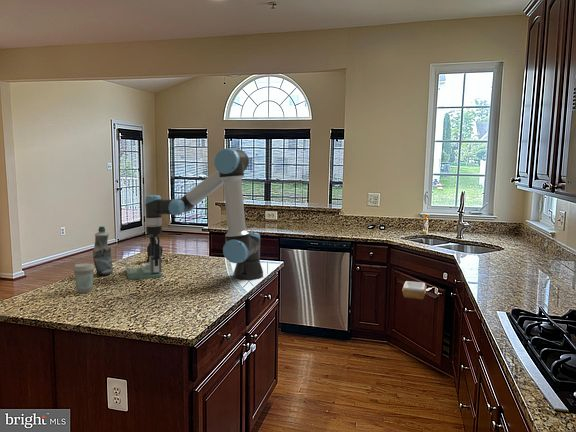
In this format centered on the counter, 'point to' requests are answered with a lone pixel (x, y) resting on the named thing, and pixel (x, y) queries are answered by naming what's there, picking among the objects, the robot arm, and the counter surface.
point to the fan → (147, 266)
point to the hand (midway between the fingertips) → (155, 271)
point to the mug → (150, 252)
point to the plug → (152, 264)
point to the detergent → (102, 253)
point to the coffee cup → (84, 277)
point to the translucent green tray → (140, 273)
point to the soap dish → (414, 290)
